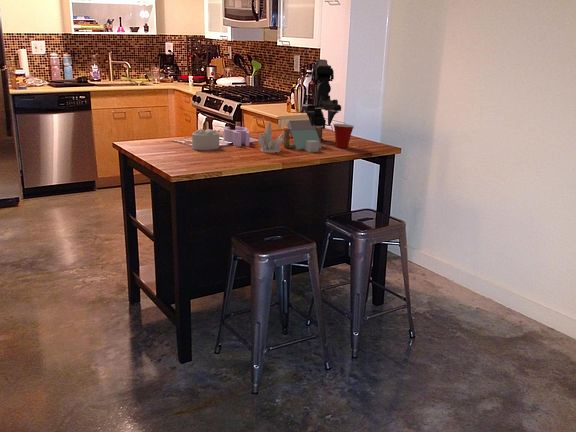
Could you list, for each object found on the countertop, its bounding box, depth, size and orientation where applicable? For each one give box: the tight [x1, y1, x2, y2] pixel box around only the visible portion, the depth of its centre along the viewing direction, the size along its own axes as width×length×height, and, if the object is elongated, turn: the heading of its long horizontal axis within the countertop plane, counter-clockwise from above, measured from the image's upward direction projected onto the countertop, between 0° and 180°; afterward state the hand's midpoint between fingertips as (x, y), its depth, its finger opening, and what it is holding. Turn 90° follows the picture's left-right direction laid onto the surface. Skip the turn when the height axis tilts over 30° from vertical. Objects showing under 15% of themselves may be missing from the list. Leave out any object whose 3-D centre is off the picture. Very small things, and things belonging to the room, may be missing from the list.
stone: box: [304, 140, 320, 153], centre depth 274 cm, size 5×5×5 cm
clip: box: [223, 125, 251, 148], centre depth 286 cm, size 20×12×7 cm, turn 24°
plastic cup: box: [333, 123, 355, 149], centre depth 284 cm, size 11×11×12 cm
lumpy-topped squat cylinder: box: [191, 128, 220, 151], centre depth 270 cm, size 10×13×9 cm
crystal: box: [257, 120, 284, 154], centre depth 269 cm, size 10×13×15 cm
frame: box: [283, 127, 323, 149], centre depth 281 cm, size 2×20×10 cm, turn 116°
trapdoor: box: [286, 119, 322, 150], centre depth 280 cm, size 16×14×4 cm
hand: (320, 125), depth 268 cm, fingers open, 9 cm apart
